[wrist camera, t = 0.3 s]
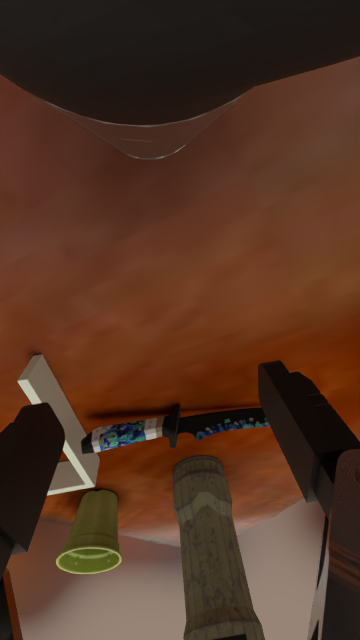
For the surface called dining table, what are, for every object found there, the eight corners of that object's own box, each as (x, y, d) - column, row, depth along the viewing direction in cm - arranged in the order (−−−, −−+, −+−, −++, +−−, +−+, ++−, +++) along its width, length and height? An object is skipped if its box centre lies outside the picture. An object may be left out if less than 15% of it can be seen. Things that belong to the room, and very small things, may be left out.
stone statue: (161, 459, 41) (184, 1258, 11) (232, 451, 42) (442, 1180, 12) (165, 488, 45) (189, 1109, 15) (229, 480, 46) (374, 1059, 16)
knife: (85, 427, 34) (80, 459, 30) (82, 411, 33) (76, 444, 29) (291, 407, 39) (308, 433, 36) (297, 393, 38) (315, 418, 34)
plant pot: (61, 502, 45) (43, 568, 37) (91, 477, 42) (77, 543, 34) (107, 514, 48) (98, 577, 41) (137, 492, 45) (134, 555, 38)
